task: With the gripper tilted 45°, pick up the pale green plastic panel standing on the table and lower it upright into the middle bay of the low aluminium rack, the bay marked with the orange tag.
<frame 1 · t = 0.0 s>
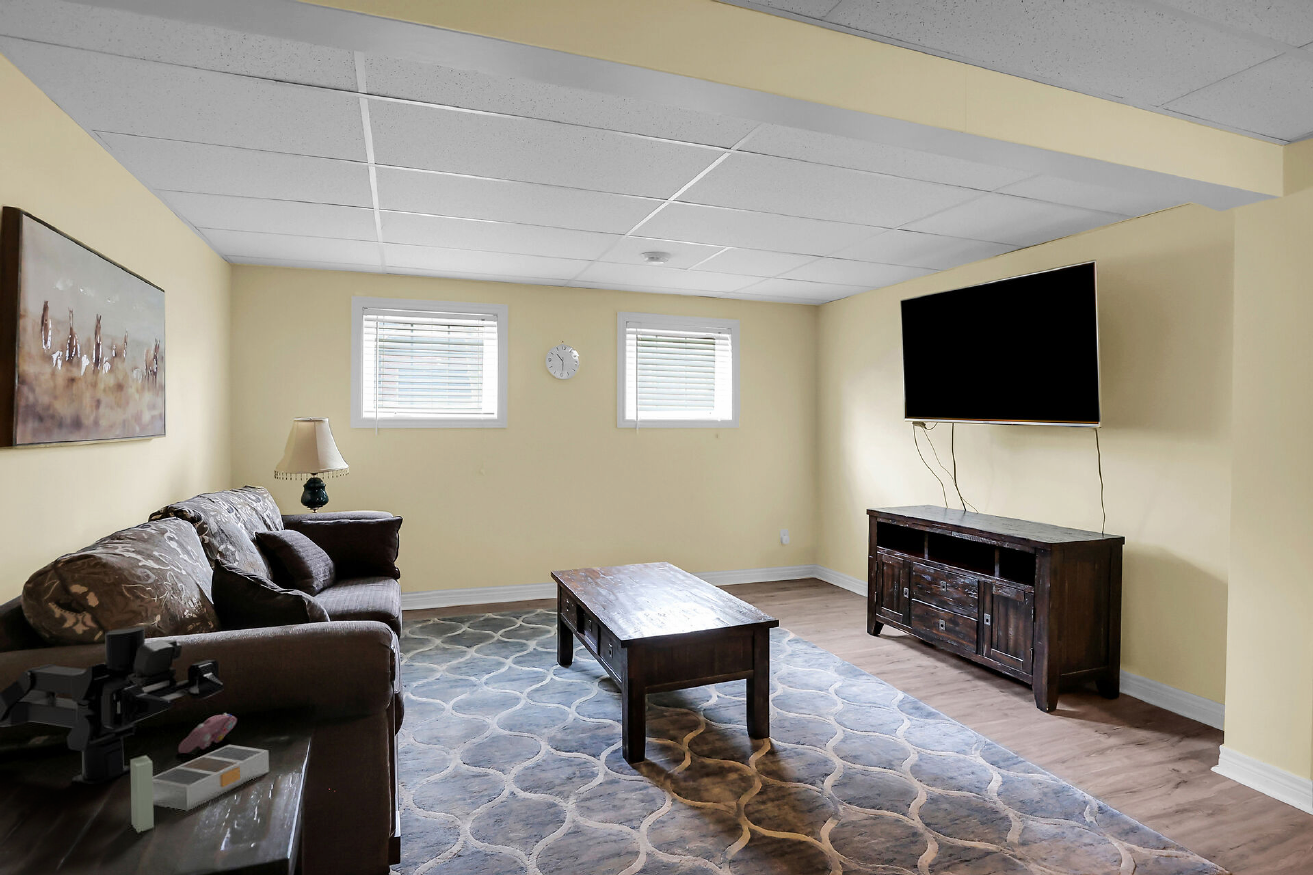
hand: (197, 695, 120), 17 cm above the table, tool horizontal, fingers open, 9 cm apart
panel: (142, 825, 109), on the table
video game controller: (209, 746, 141), on the table
rack: (209, 786, 122), on the table
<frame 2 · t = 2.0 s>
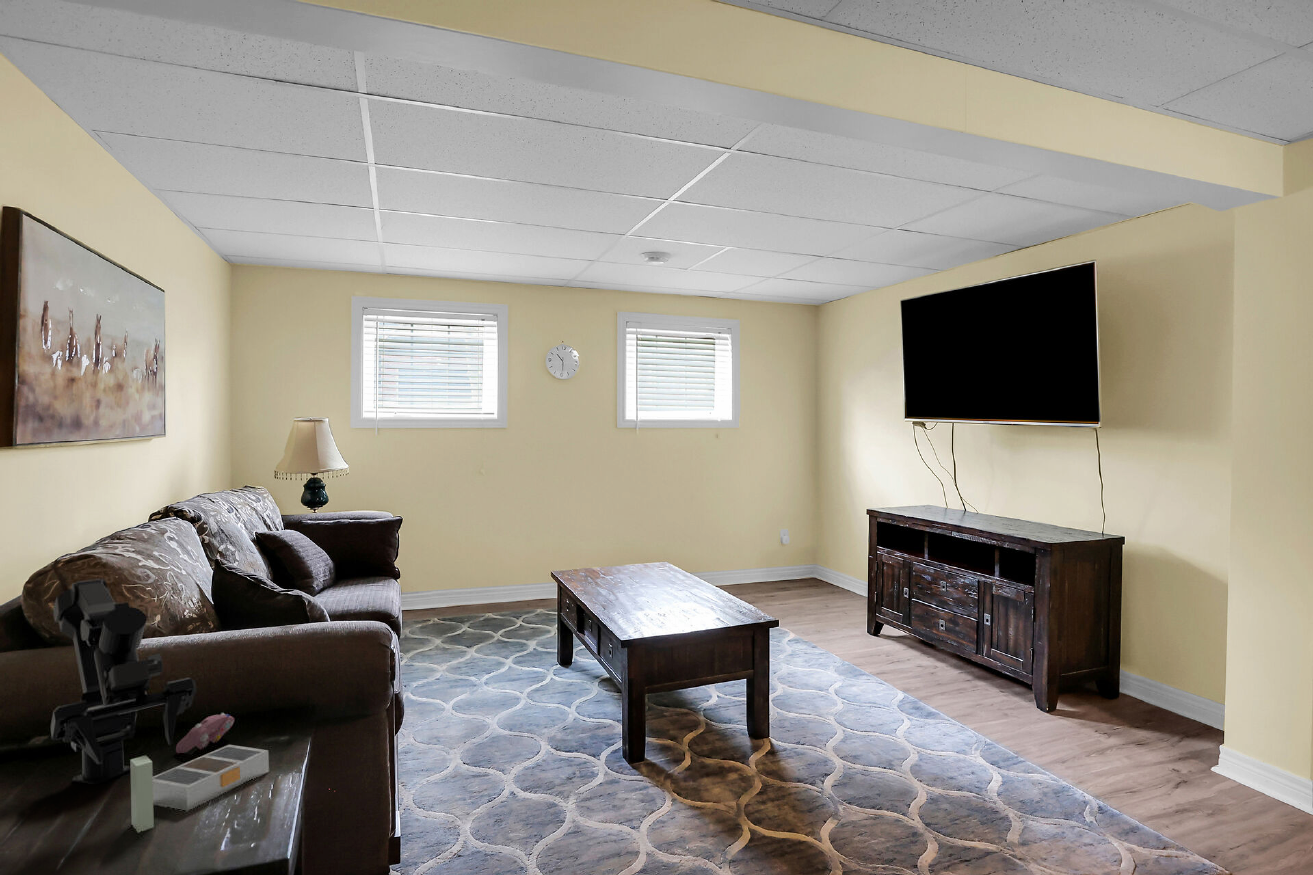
hand: (136, 752, 111), 10 cm above the table, tool tilted 45°, fingers open, 9 cm apart
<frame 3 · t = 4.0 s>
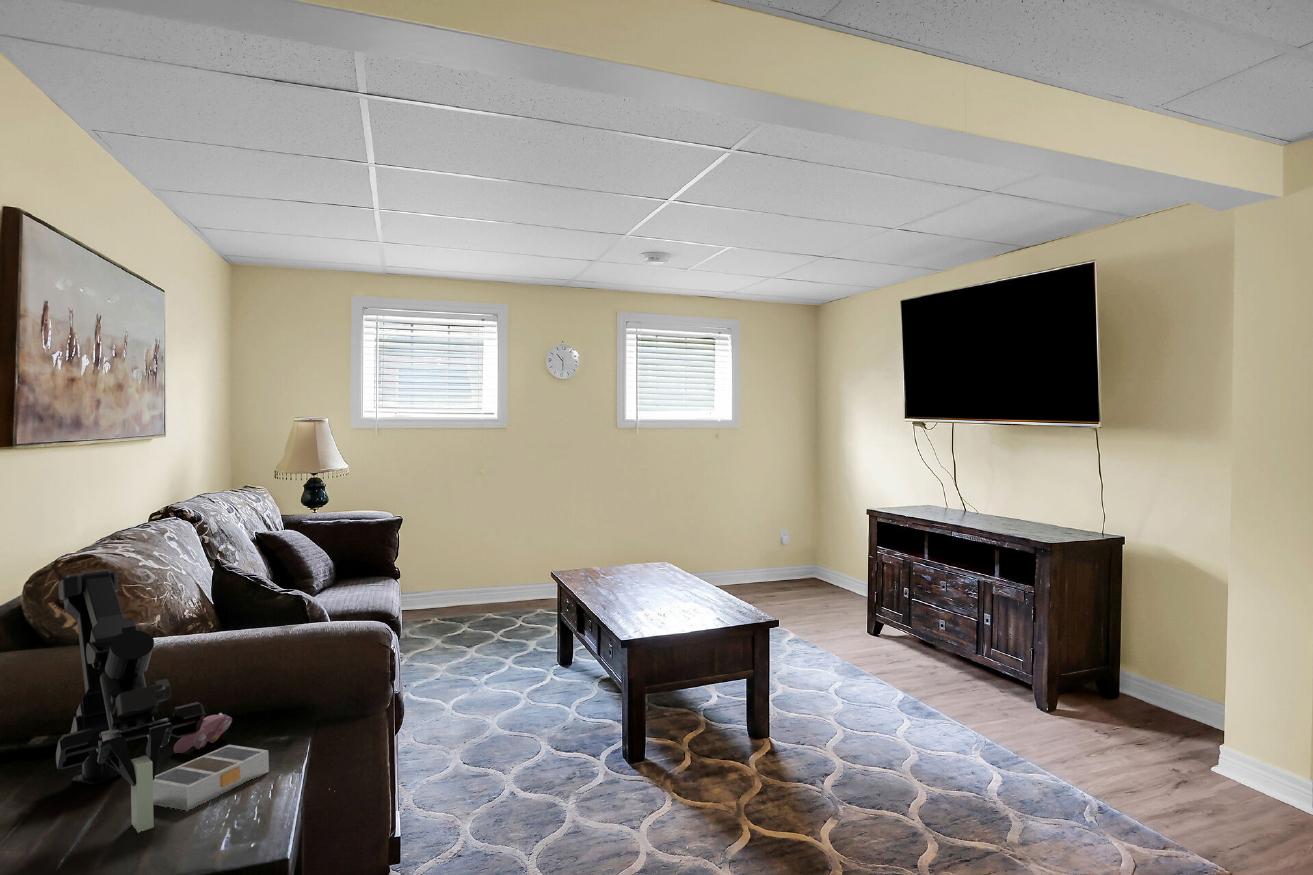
hand: (143, 781, 108), 7 cm above the table, tool tilted 45°, fingers closed on panel, 2 cm apart
panel: (142, 825, 109), on the table, touching gripper
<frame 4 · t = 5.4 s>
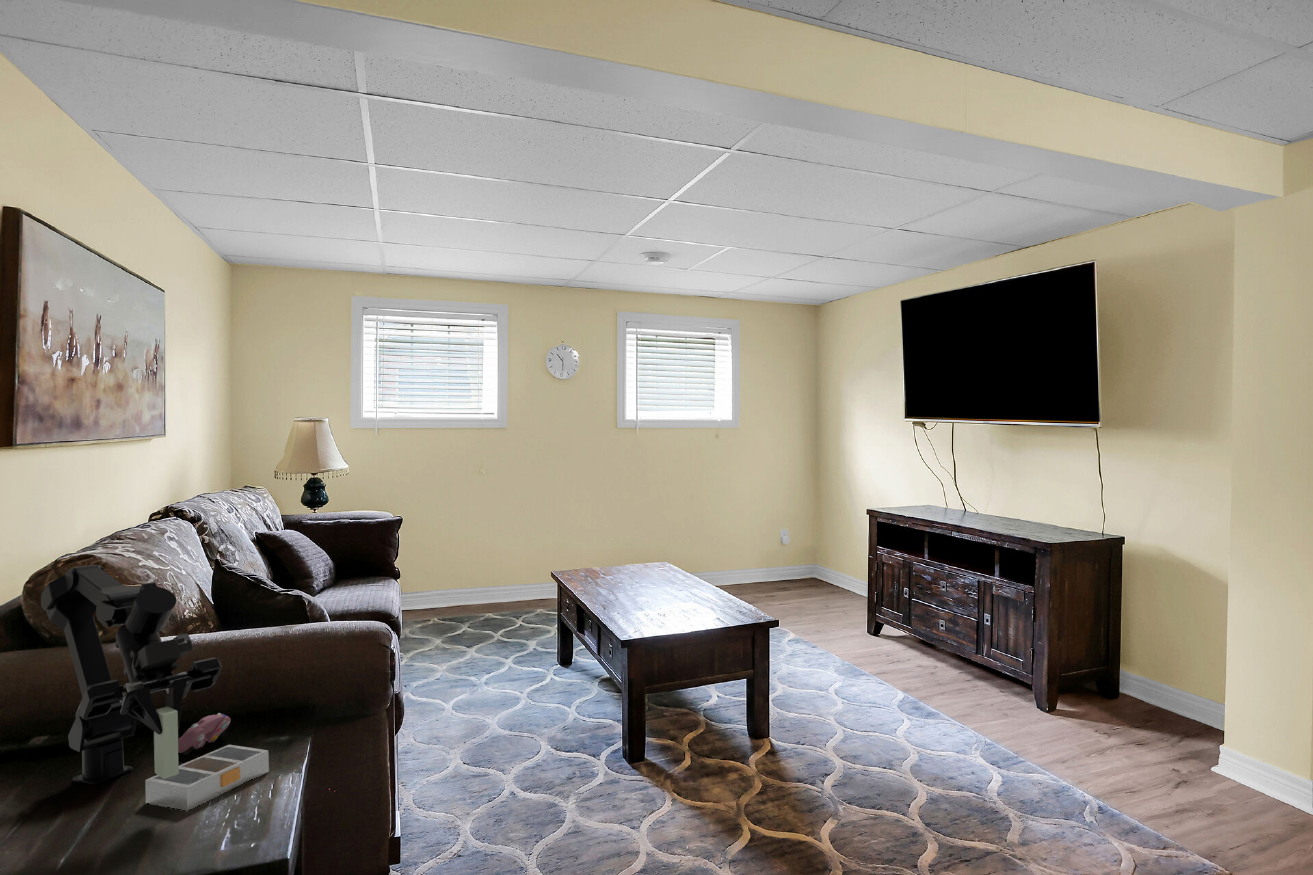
hand: (169, 730, 112), 13 cm above the table, tool tilted 45°, fingers closed on panel
panel: (166, 773, 113), point 6 cm above the table, touching gripper
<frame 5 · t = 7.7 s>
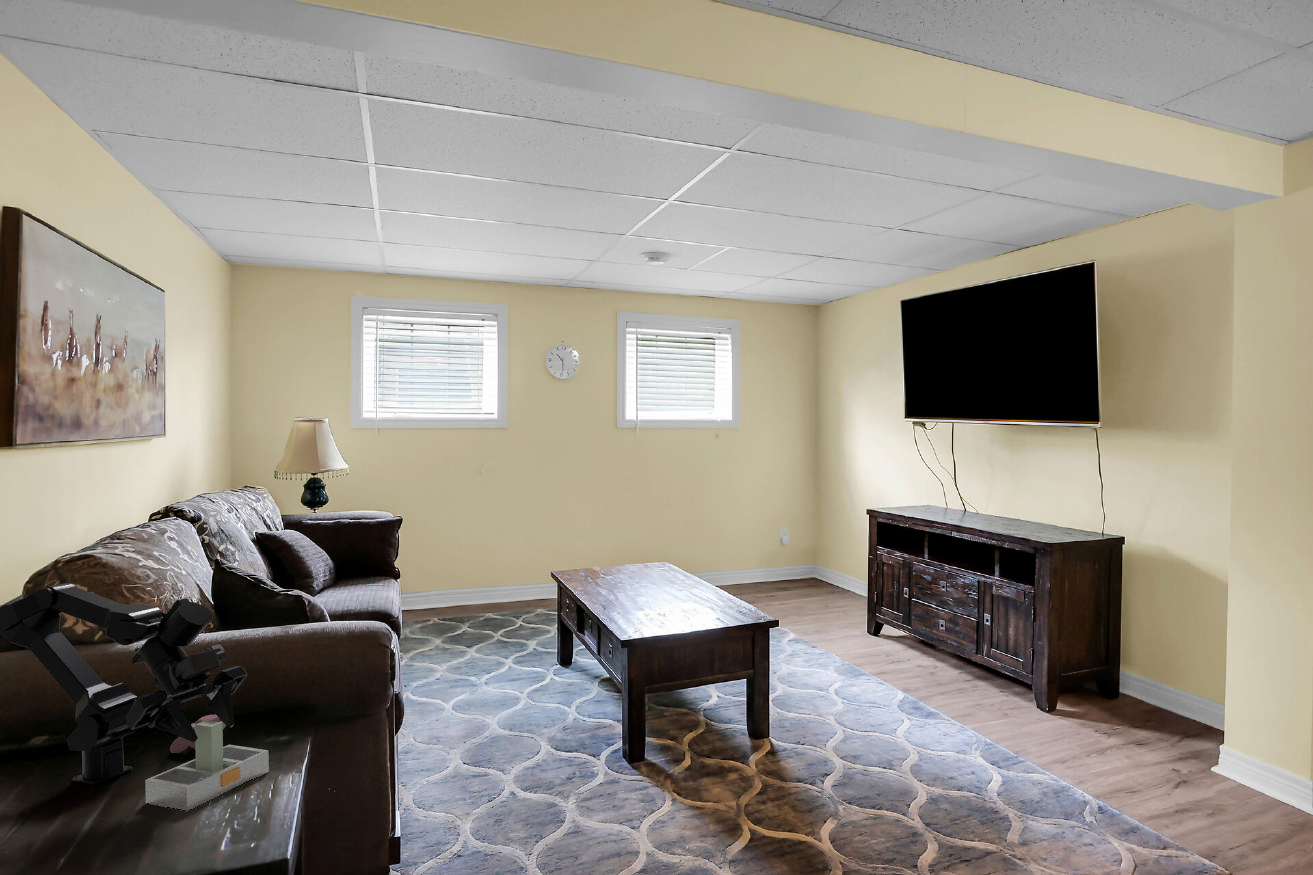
hand: (214, 732, 122), 9 cm above the table, tool tilted 45°, fingers open, 6 cm apart
panel: (209, 781, 122), point 1 cm above the table, touching rack
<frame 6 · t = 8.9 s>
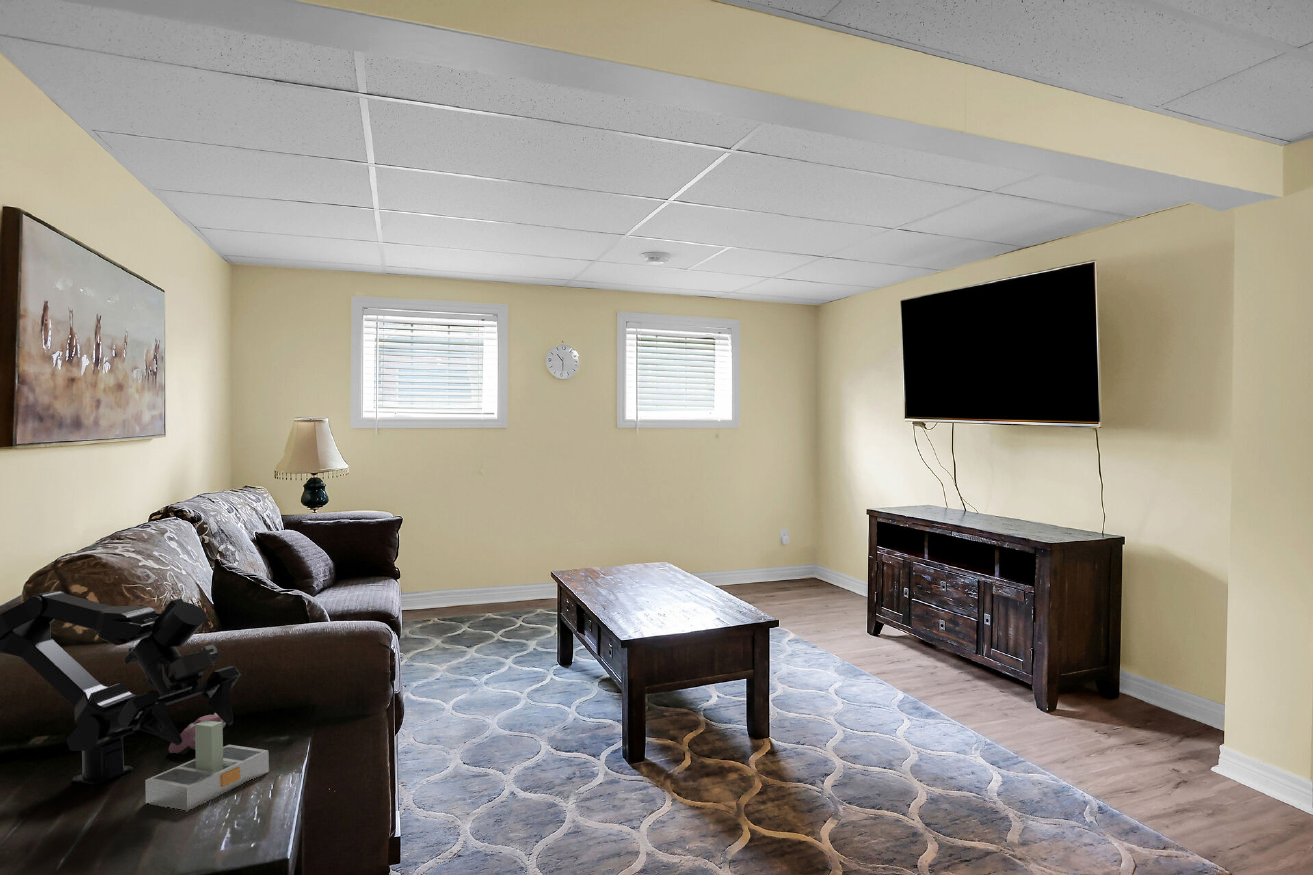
hand: (206, 732, 122), 9 cm above the table, tool tilted 45°, fingers open, 9 cm apart
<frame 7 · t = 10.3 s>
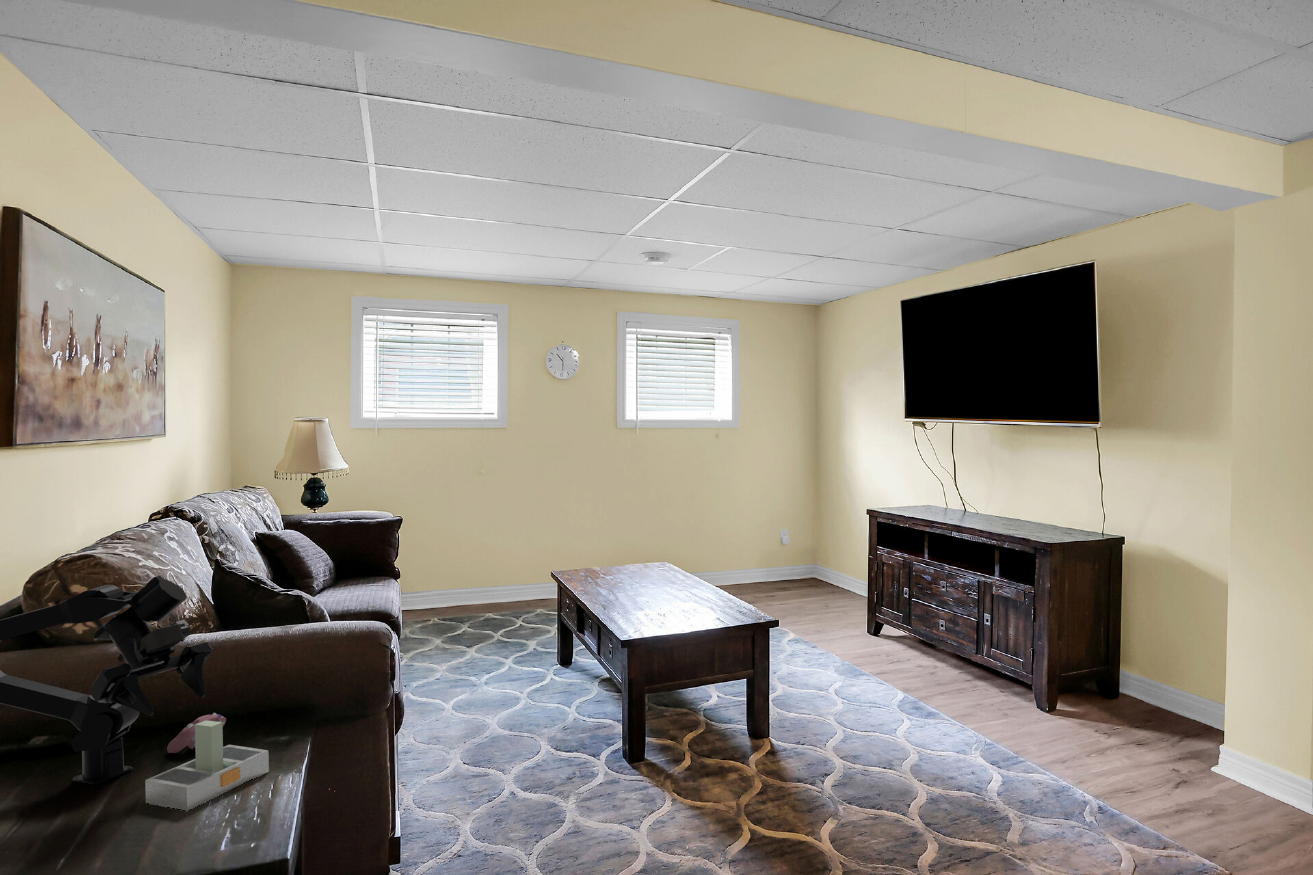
hand: (178, 704, 125), 13 cm above the table, tool tilted 45°, fingers open, 9 cm apart
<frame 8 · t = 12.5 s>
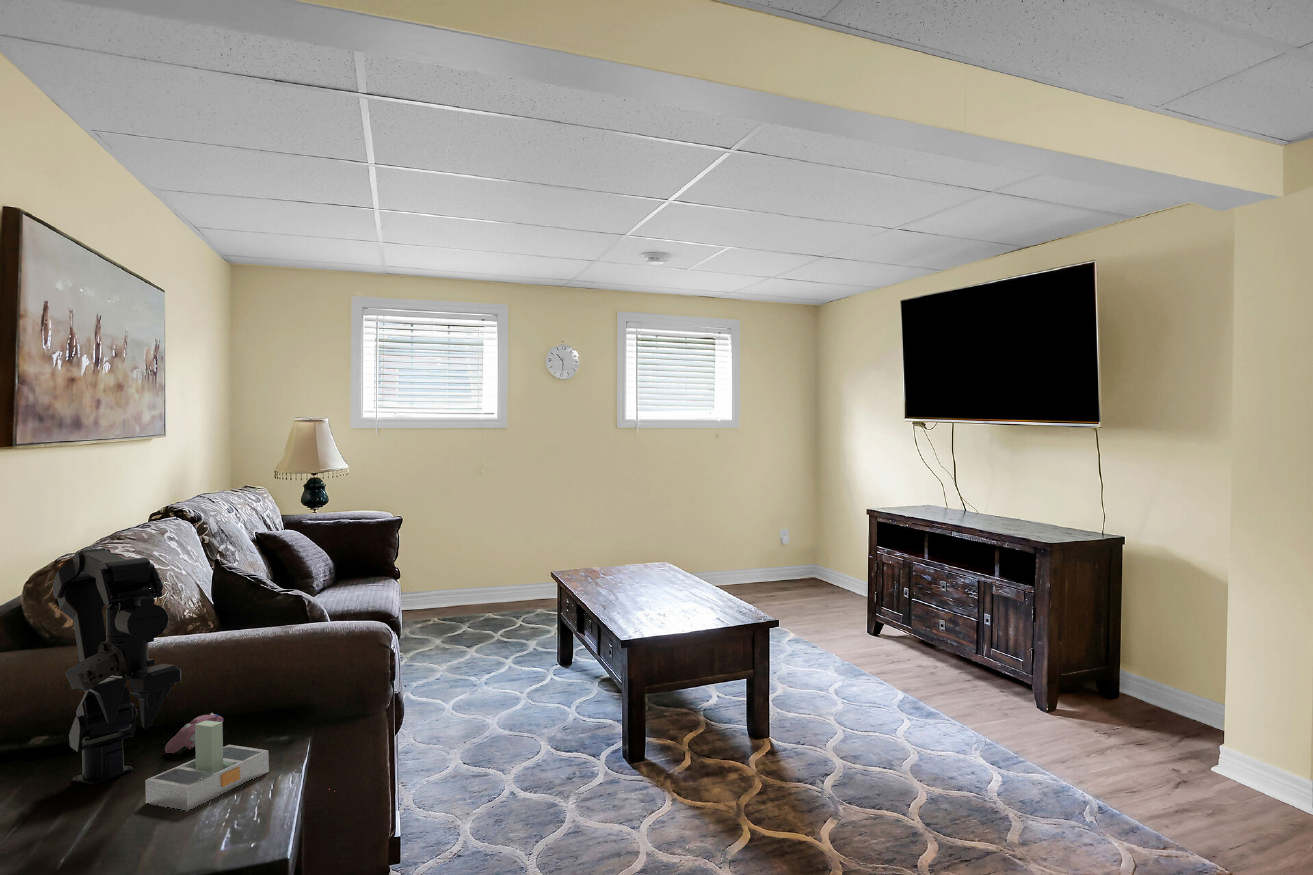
hand: (128, 724, 120), 12 cm above the table, tool pointing down, fingers open, 9 cm apart
at the end: panel 0.1 cm off-centre on the rack, point 0.9 cm above the rack's base; panel tilted 0°; the gripper is holding nothing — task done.
